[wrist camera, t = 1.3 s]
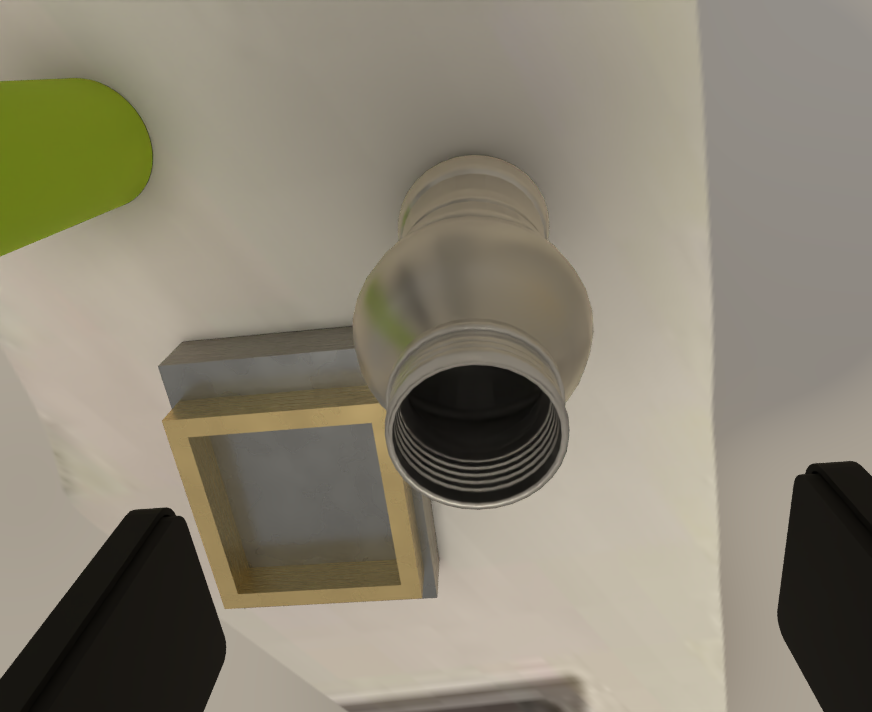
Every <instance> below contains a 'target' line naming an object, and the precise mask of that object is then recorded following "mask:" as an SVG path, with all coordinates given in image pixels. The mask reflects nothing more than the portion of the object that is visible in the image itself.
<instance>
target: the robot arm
mask: <svg viewBox="0 0 872 712" xmlns="http://www.w3.org/2000/svg"><path fill="white" fill-rule="evenodd" d="M786 541H787V542H786V548H785V556H784V564H783V571H782V579H781V587H780V595H779V603H778V611H777V613H778V614H777V616H778V623H779V628H780V631H781V634H782V636H783V638H784V640H785V642H786V644H787V646H788V648H789V649H790V651H791V653H792V655H793V657H794V658H795V660H796V662H797V664H798V666H799V668H800V669H801V671H802V673H803V675H804V677H805V679H806V680H807V682H808V684H809V686H810V688H811V689H812V691H813V693H814V695H815V697H816V699H817V700H818V702H819V704H820V706H821V708H822V709H823V711H824V712H872V476H871V475H870V474H869V473H868V472H867V471H866V470H865V469H864V468H863V467H862V466H861V465H860V464H858V463H857V462H853V461H846V462H831V463H816V464H811V465H809V467H808V468H807V470H806V473H805V474H802V475H798V476H797V477H796V478H795V481H794V487H793V494H792V502H791V509H790V517H789V525H788V533H787V540H786ZM225 654H226V641H225V636H224V633H223V630H222V627H221V624H220V621H219V618H218V615H217V612H216V609H215V606H214V603H213V600H212V597H211V594H210V591H209V589H208V586H207V583H206V580H205V577H204V574H203V571H202V568H201V565H200V562H199V559H198V556H197V553H196V550H195V547H194V544H193V541H192V538H191V535H190V532H189V529H188V526H187V523H186V521H185V519H184V518H183V517H181V516H176V515H175V513H174V511H173V510H172V509H170V508H153V509H138V510H133V511H130V512H129V513H128V514H127V515H126V516H125V517H124V519H123V520H122V521H121V522H120V524H119V525H118V526H117V528H116V529H115V530H114V532H113V533H112V534H111V536H110V537H109V538H108V540H107V541H106V542H105V543H104V545H103V546H102V547H101V549H100V550H99V551H98V552H97V554H96V555H95V557H94V558H93V559H92V560H91V562H90V563H89V564H88V566H87V567H86V568H85V569H84V571H83V572H82V573H81V575H80V576H79V577H78V579H77V580H76V581H75V583H74V584H73V585H72V586H71V588H70V589H69V590H68V592H67V593H66V594H65V595H64V597H63V598H62V599H61V601H60V602H59V603H58V605H57V606H56V607H55V609H54V610H53V611H52V612H51V614H50V615H49V616H48V618H47V619H46V620H45V622H44V623H43V624H42V626H41V627H40V628H39V629H38V631H37V632H36V633H35V635H34V636H33V637H32V639H31V640H30V641H29V642H28V644H27V645H26V647H25V648H24V649H23V650H22V652H21V653H20V654H19V656H18V657H17V658H16V659H15V661H14V662H13V664H12V665H11V666H10V667H9V669H8V670H7V671H6V672H5V674H4V675H3V676H2V678H1V679H0V712H203V711H204V709H205V707H206V704H207V702H208V699H209V697H210V695H211V692H212V690H213V687H214V685H215V682H216V680H217V678H218V675H219V673H220V670H221V668H222V665H223V663H224V660H225Z"/></svg>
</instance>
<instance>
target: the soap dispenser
mask: <svg viewBox="0 0 872 712" xmlns="http://www.w3.org/2000/svg"><path fill="white" fill-rule="evenodd" d="M151 169H152V147H151V142H150V138H149V135H148V132H147V130H146V127H145V125H144V123H143V121H142V120H141V118H140V116H139V115H138V113H137V112H136V111H135V109H134V108H133V107H132V106H131V105H130V104H129V103H128V102H127V101H126V100H125V99H124V98H123V97H122V96H121V95H119V94H118V93H117V92H115V91H114V90H112V89H111V88H109V87H107V86H105V85H103V84H101V83H98V82H95V81H92V80H88V79H81V78H67V79H44V80H21V81H0V256H2V255H5V254H7V253H10V252H12V251H14V250H17V249H19V248H22V247H24V246H26V245H29V244H31V243H34V242H36V241H38V240H41V239H43V238H46V237H48V236H50V235H53V234H55V233H58V232H60V231H62V230H65V229H67V228H70V227H72V226H74V225H77V224H79V223H82V222H84V221H86V220H89V219H91V218H93V217H96V216H98V215H101V214H103V213H105V212H108V211H110V210H113V209H115V208H117V207H120V206H122V205H125V204H127V203H129V202H130V201H132V200H133V199H134V198H136V197H137V196H138V195H139V194H140V193H141V191H142V190H143V189H144V187H145V186H146V184H147V182H148V179H149V177H150V173H151Z"/></svg>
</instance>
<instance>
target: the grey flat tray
mask: <svg viewBox="0 0 872 712" xmlns="http://www.w3.org/2000/svg"><path fill="white" fill-rule="evenodd" d="M158 368H159V371H160V374H161V377H162V380H163V383H164V386H165V389H166V392H167V395H168V398H169V401H170V405H171V408H172V410H171V411H170V412H169V413H168V415H167V416H166V417H165V418H164V419H163V420H162V423H163V426H164V429H165V432H166V435H167V438H168V441H169V444H170V447H171V450H172V453H173V456H174V459H175V462H176V465H177V468H178V470H179V473H180V476H181V479H182V482H183V485H184V488H185V491H186V494H187V497H188V500H189V503H190V506H191V509H192V512H193V515H194V518H195V521H196V524H197V527H198V530H199V533H200V536H201V539H202V542H203V545H204V548H205V551H206V554H207V557H208V560H209V563H210V566H211V569H212V572H213V575H214V578H215V581H216V584H217V587H218V590H219V593H220V596H221V599H222V602H223V605H224V608H225V609H232V608H254V607H272V606H291V605H310V604H328V603H347V602H366V601H384V600H403V599H422V598H437V594H438V577H439V555H438V548H437V541H436V534H435V528H434V521H433V514H432V507H431V500H430V499H429V498H428V497H426V496H424V495H423V494H421V493H419V492H418V491H416V490H415V489H414V488H413V487H411V486H410V485H409V484H408V483H407V482H406V481H405V480H404V479H403V478H402V477H401V475H400V474H399V473H398V471H397V470H396V469H395V467H394V465H393V463H392V461H391V458H390V456H389V454H388V449H387V445H386V439H385V418H386V413H387V412H386V409H384V408H383V407H382V406H381V404H380V403H379V402H378V400H377V399H376V398H375V396H374V395H373V394H372V392H371V391H370V390H369V388H368V385H367V383H366V381H365V379H364V377H363V375H362V373H361V370H360V366H359V363H358V359H357V355H356V351H355V346H354V342H353V326H350V327H339V328H329V329H318V330H307V331H296V332H285V333H275V334H264V335H253V336H242V337H231V338H221V339H210V340H199V341H188V342H182V343H181V344H180V345H179V346H178V347H177V348H176V349H175V350H174V351H173V352H172V353H171V354H170V355H169V356H168V357H167V358H166V359H165V360H164V361H163V362H162V363H161V364H160V365H159V366H158Z"/></svg>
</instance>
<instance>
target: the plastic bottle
mask: <svg viewBox="0 0 872 712" xmlns="http://www.w3.org/2000/svg"><path fill="white" fill-rule="evenodd" d="M548 236H549V216H548V210H547V207H546V204H545V200H544V198H543V196H542V194H541V193H540V191H539V189H538V187H537V186H536V185H535V183H534V182H533V181H532V180H531V179H530V178H529V177H528V175H527V174H525V173H524V172H523V171H521V170H520V169H519V168H517V167H516V166H514V165H512V164H510V163H508V162H506V161H504V160H502V159H498V158H494V157H490V156H483V155H467V156H460V157H455V158H452V159H449V160H446V161H443V162H441V163H439V164H437V165H436V166H434V167H432V168H431V169H429V170H427V171H426V172H425V173H424V174H423V175H422V176H421V177H420V178H419V179H417V180H416V182H415V183H414V184H413V186H412V187H411V188H410V190H409V191H408V193H407V195H406V197H405V199H404V201H403V203H402V206H401V210H400V214H399V219H398V241H399V242H397V243H396V244H395V245H394V246H393V247H392V248H391V249H389V250H388V251H387V252H386V253H385V254H384V256H383V257H382V258H381V260H380V261H379V262H378V264H377V265H376V266H375V268H374V269H373V270H372V272H371V273H370V274H369V276H368V277H367V278H366V280H365V283H364V285H363V287H362V289H361V291H360V293H359V296H358V298H357V302H356V306H355V311H354V315H353V342H354V346H355V351H356V355H357V359H358V363H359V366H360V370H361V373H362V375H363V377H364V379H365V381H366V383H367V385H368V388H369V390H370V391H371V392H372V394H373V395H374V396H375V398H376V399H377V400H378V402H379V403H380V404H381V406H382V407H383V408H384V409H386V412H387V413H386V418H385V439H386V445H387V449H388V454H389V456H390V458H391V461H392V463H393V465H394V467H395V469H396V470H397V471H398V473H399V474H400V475H401V477H402V478H403V479H404V480H405V481H406V482H407V483H408V484H409V485H410V486H411V487H413V488H414V489H415V490H416V491H418V492H419V493H421V494H423V495H424V496H426V497H428V498H429V499H431V500H434V501H436V502H439V503H442V504H444V505H448V506H452V507H457V508H461V509H477V510H480V509H491V508H498V507H502V506H506V505H510V504H513V503H515V502H518V501H520V500H522V499H525V498H527V497H529V496H530V495H532V494H533V493H535V492H536V491H538V490H539V489H541V488H542V487H543V486H544V485H545V484H546V483H547V482H548V481H549V480H550V479H551V478H552V477H553V476H554V474H555V473H556V472H557V470H558V469H559V467H560V466H561V464H562V461H563V459H564V457H565V454H566V452H567V446H568V440H569V421H568V414H567V411H566V408H565V403H566V402H567V401H568V399H569V398H570V396H571V395H572V393H573V392H574V390H575V389H576V387H577V386H578V384H579V382H580V379H581V377H582V374H583V372H584V369H585V367H586V364H587V361H588V358H589V355H590V351H591V345H592V338H593V332H594V331H593V315H592V308H591V305H590V301H589V298H588V295H587V291H586V289H585V287H584V285H583V283H582V282H581V280H580V278H579V276H578V274H577V273H576V271H575V269H574V268H573V267H572V266H571V264H570V263H569V262H568V260H567V259H566V258H565V257H564V256H563V255H562V254H561V253H560V251H559V250H558V249H557V248H556V247H555V246H554V245H553V244H551V243H550V242H549V241H548Z"/></svg>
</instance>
